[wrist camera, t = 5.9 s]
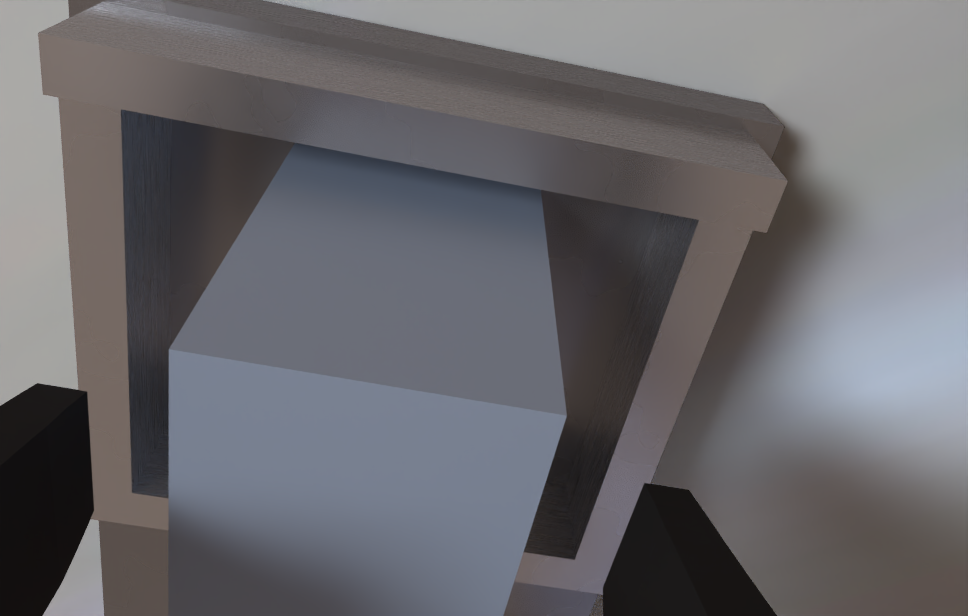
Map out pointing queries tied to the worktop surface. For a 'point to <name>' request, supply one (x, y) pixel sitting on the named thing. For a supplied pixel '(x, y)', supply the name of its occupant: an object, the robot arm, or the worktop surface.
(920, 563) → the worktop surface
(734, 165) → the bin
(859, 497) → the worktop surface
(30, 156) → the worktop surface
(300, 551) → the pale blue block
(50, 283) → the worktop surface
